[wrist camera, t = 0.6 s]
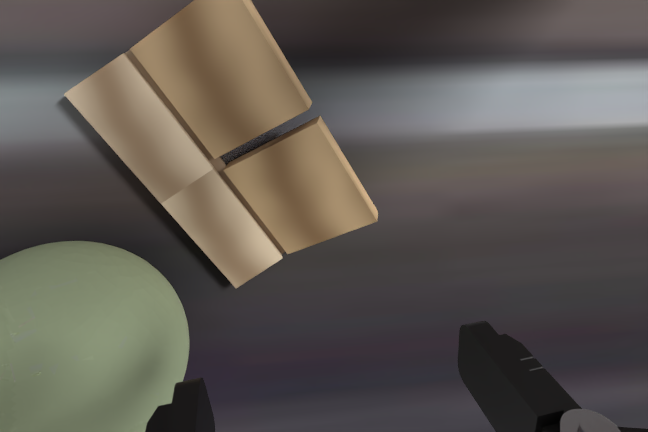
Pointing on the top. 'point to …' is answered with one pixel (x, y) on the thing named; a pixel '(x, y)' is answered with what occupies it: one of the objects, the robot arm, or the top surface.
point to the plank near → (222, 72)
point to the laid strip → (175, 167)
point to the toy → (86, 339)
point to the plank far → (302, 187)
